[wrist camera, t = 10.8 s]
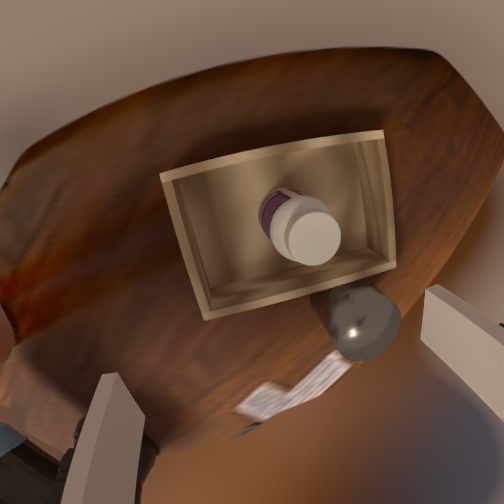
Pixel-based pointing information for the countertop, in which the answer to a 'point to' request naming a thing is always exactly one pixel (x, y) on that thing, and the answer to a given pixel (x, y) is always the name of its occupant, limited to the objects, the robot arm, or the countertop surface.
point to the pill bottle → (299, 226)
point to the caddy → (253, 237)
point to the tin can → (357, 318)
